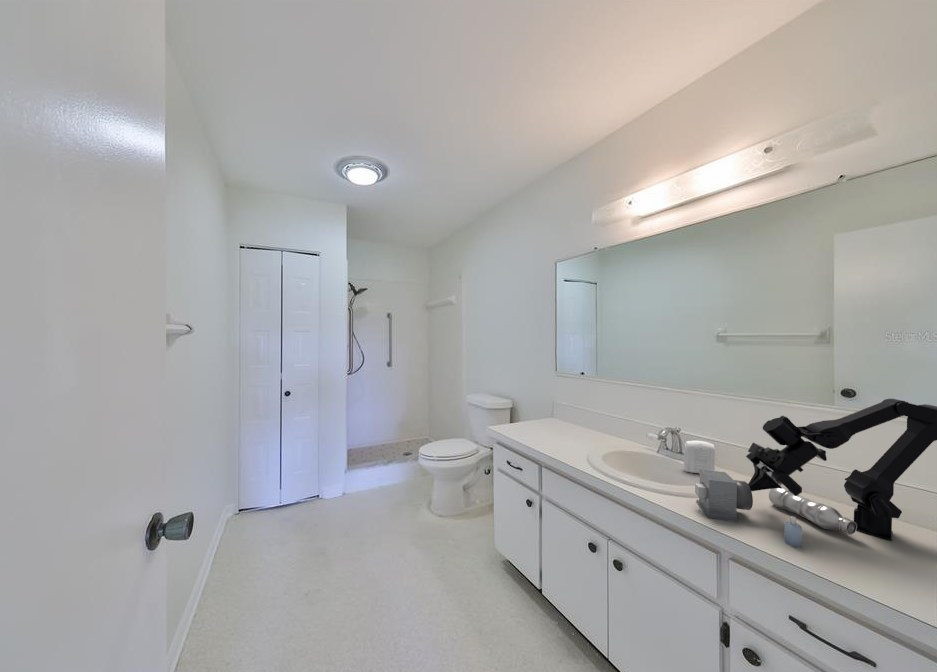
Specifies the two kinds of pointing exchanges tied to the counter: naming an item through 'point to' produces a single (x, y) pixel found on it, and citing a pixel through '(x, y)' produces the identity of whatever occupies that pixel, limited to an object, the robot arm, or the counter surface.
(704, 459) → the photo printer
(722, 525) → the counter surface
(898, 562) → the counter surface
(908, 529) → the counter surface
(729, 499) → the mount
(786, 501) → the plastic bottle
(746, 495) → the knob
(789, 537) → the small blue bottle
